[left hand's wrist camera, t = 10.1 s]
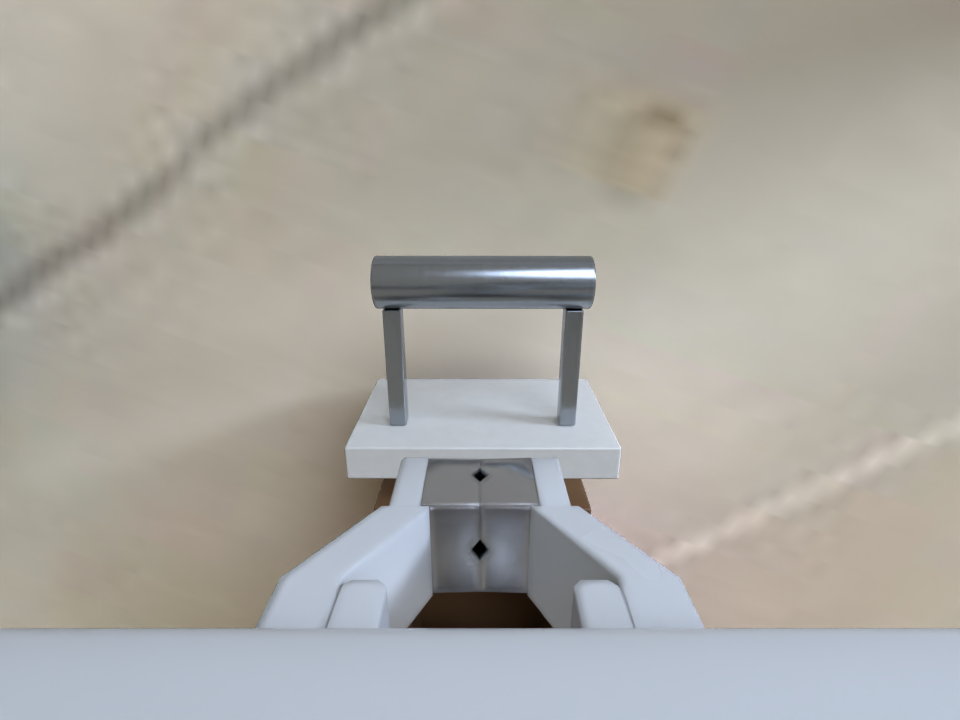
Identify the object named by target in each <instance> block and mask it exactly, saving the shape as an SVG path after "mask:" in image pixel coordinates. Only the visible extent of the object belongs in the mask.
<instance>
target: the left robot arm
mask: <svg viewBox="0 0 960 720" xmlns="http://www.w3.org/2000/svg"><path fill="white" fill-rule="evenodd" d="M448 592H512V593H527V595H528V597H529V598H530V599H531V600H532V602H533V603H534V604H535V605H536V607H537V608H538V609H539V611H540V612H541V613H542V614H543V616H544V617H545V618H546V620H547V621H548V622H549V623H550V625H551V626H552V627H553V628H408V626H409V625H410V624H411V623H412V621H413V620H414V619H415V617H416V616H417V615H418V614H419V612H420V611H421V610H422V609H423V607H424V606H425V605H426V603H427V602H428V601H429V600H430V598H431V597H432V596H433V593H448ZM0 720H960V628H704V626H703V624H702V622H701V620H700V618H699V616H698V613H697V611H696V609H695V607H694V605H693V603H692V601H691V599H690V597H689V595H688V593H687V591H686V589H685V587H684V585H683V583H682V581H681V579H680V578H679V577H678V576H676V575H675V574H674V573H672V572H671V571H669V570H668V569H666V568H665V567H664V566H662V565H661V564H659V563H658V562H657V561H655V560H654V559H652V558H651V557H650V556H648V555H647V554H645V553H644V552H643V551H641V550H640V549H638V548H637V547H635V546H634V545H633V544H631V543H630V542H628V541H627V540H626V539H624V538H623V537H621V536H620V535H619V534H617V533H616V532H614V531H613V530H612V529H610V528H609V527H607V526H606V525H605V524H603V523H602V522H600V521H599V520H597V519H596V518H595V517H593V516H592V515H590V514H589V513H588V512H586V511H585V510H583V509H582V508H581V507H579V506H571V504H570V500H569V497H568V493H567V490H566V486H565V482H564V479H563V475H562V472H561V468H560V464H559V461H558V459H557V458H556V457H539V458H498V459H480V458H433V457H430V459H429V458H428V457H404V458H403V459H402V460H401V464H400V467H399V471H398V475H397V478H396V482H395V486H394V489H393V493H392V497H391V500H390V504H389V506H381V507H379V508H378V509H377V510H375V511H374V512H372V513H371V514H370V515H368V516H367V517H365V518H364V519H362V520H361V521H360V522H358V523H357V524H355V525H354V526H353V527H351V528H350V529H348V530H347V531H345V532H344V533H343V534H341V535H340V536H338V537H337V538H336V539H334V540H333V541H331V542H330V543H329V544H327V545H326V546H324V547H323V548H321V549H320V550H319V551H317V552H316V553H314V554H313V555H312V556H310V557H309V558H307V559H306V560H304V561H303V562H302V563H300V564H299V565H297V566H296V567H295V568H293V569H292V570H290V571H289V572H288V573H286V574H285V575H283V576H282V577H280V579H279V581H278V583H277V585H276V587H275V589H274V591H273V593H272V595H271V597H270V600H269V602H268V604H267V606H266V608H265V610H264V612H263V614H262V616H261V618H260V620H259V622H258V624H257V626H256V628H0Z"/></svg>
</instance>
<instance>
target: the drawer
mask: <svg viewBox="0 0 960 720" xmlns="http://www.w3.org/2000/svg"><path fill="white" fill-rule="evenodd" d="M370 282H371V294H372V300H373V303H374V306H375V307H376V308H377V309H383V311H382V313H383V328H384V343H385V358H386V372H387V379H378V381H377V383H376V385H375V387H374V389H373V391H372V393H371V395H370V397H369V399H368V401H367V403H366V405H365V407H364V409H363V411H362V413H361V415H360V418H359V420H358V422H357V424H356V426H355V428H354V430H353V432H352V434H351V436H350V438H349V440H348V442H347V444H346V446H345V448H344V450H345V459H346V469H347V477H348V478H384V480H383V483H382V486H381V489H380V492H379V496H378V499H377V502H376V505H375V508H374V511H375V510H377V509H378V508H379V507H381V506H389V504H390V500H391V497H392V493H393V489H394V486H395V482H396V478H397V475H398V471H399V467H400V464H401V460H402V459H403V458H404V457H428V458H429V459H430V457H433V458H480V459H498V458H539V457H556V458H557V459H558V461H559V464H560V468H561V472H562V475H563V479H564V482H565V486H566V490H567V493H568V497H569V500H570V504H571V506H579V507H581V508H582V509H583V510H585V511H586V512H588V513H589V514H590V515H591V508H590V505H589V501H588V498H587V495H586V492H585V489H584V486H583V483H582V480H581V479H617V478H618V475H619V466H620V457H621V447H620V445H619V443H618V441H617V439H616V437H615V435H614V433H613V431H612V429H611V427H610V425H609V423H608V421H607V419H606V417H605V415H604V413H603V411H602V409H601V407H600V405H599V403H598V401H597V399H596V397H595V395H594V393H593V391H592V389H591V387H590V385H589V383H588V381H587V380H586V379H579V368H580V354H581V340H582V327H583V313H584V312H583V310H582V309H589V308H591V306H592V304H593V301H594V296H595V288H596V270H595V263H594V260H593V258H592V257H591V256H375V257H374V258H373V260H372V265H371V276H370ZM403 309H563V321H562V338H561V355H560V372H559V379H406V361H405V342H404V324H403ZM408 628H553V627H552V626H551V625H550V623H549V622H548V621H547V620H546V618H545V617H544V616H543V614H542V613H541V612H540V611H539V609H538V608H537V607H536V605H535V604H534V603H533V602H532V600H531V599H530V598H529V597H528V595H527V593H512V592H448V593H433V596H432V597H431V598H430V600H429V601H428V602H427V603H426V605H425V606H424V607H423V609H422V610H421V611H420V612H419V614H418V615H417V616H416V617H415V619H414V620H413V621H412V623H411V624H410V625H409V626H408Z"/></svg>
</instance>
